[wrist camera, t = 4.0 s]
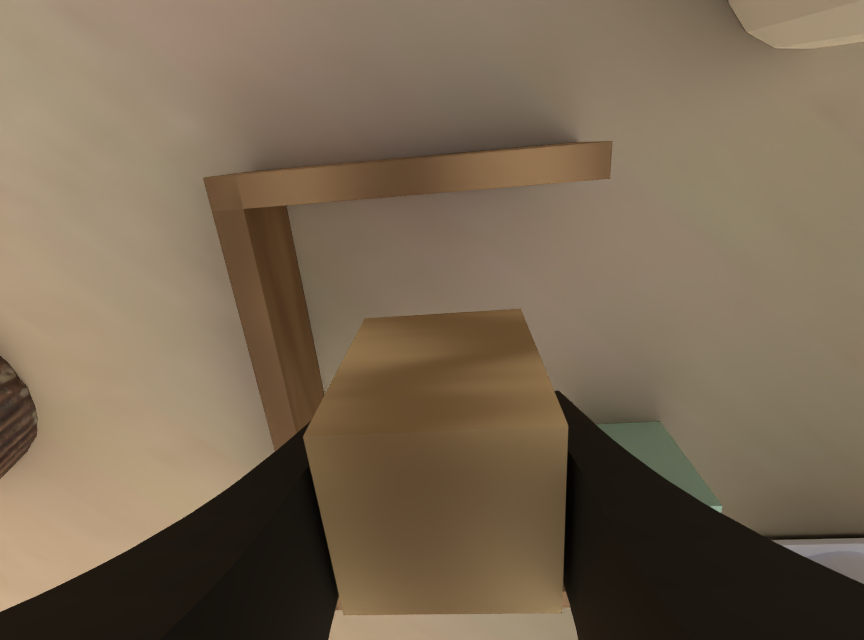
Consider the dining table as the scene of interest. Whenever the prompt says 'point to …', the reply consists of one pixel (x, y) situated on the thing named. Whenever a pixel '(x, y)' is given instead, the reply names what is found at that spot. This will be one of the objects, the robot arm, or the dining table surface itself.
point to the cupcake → (14, 418)
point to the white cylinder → (802, 22)
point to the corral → (274, 189)
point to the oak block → (442, 468)
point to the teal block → (661, 456)
